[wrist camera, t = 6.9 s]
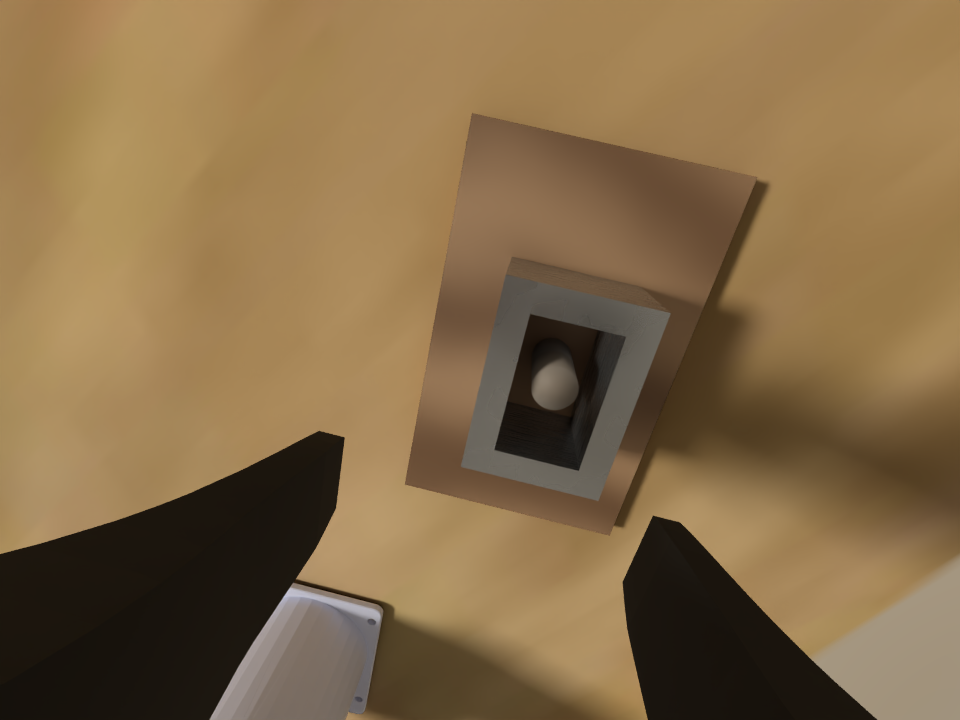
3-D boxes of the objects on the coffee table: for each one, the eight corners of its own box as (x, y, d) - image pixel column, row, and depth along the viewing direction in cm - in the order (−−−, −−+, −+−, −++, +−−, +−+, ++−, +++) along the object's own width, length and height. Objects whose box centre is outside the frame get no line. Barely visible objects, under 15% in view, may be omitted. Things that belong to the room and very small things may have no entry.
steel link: (585, 441, 19) (598, 501, 16) (474, 414, 19) (460, 466, 16) (640, 286, 17) (670, 313, 13) (511, 256, 17) (505, 274, 13)
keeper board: (606, 523, 22) (622, 592, 18) (409, 474, 22) (384, 531, 18) (747, 177, 16) (813, 173, 12) (474, 117, 16) (457, 94, 12)
